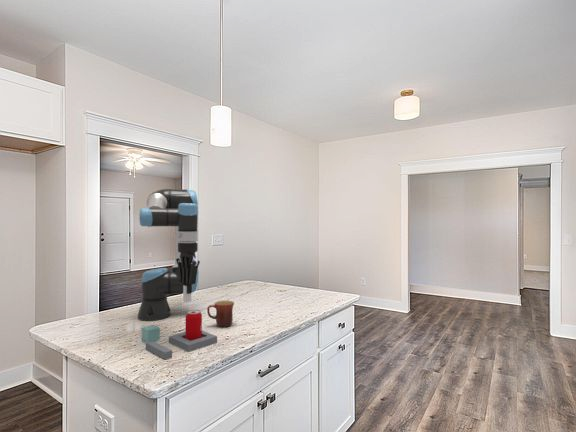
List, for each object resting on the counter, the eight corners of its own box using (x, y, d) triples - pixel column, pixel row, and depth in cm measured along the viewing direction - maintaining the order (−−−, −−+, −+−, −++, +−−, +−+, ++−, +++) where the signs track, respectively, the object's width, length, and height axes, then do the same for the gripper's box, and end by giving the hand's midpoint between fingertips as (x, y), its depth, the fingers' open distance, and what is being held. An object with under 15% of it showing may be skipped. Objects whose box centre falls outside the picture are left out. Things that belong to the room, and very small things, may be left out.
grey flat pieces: (145, 349, 125) (145, 342, 125) (196, 334, 142) (196, 328, 142) (164, 359, 116) (164, 352, 116) (217, 342, 133) (217, 336, 133)
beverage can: (203, 339, 136) (203, 309, 136) (199, 345, 130) (200, 313, 130) (187, 339, 136) (188, 309, 136) (183, 345, 130) (183, 313, 130)
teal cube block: (141, 340, 135) (141, 327, 135) (153, 337, 139) (153, 324, 139) (147, 343, 132) (147, 330, 132) (159, 340, 135) (159, 327, 135)
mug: (232, 321, 159) (233, 300, 160) (235, 327, 151) (235, 304, 151) (206, 323, 156) (206, 301, 156) (207, 329, 148) (207, 306, 148)
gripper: (170, 241, 136) (169, 300, 136) (189, 243, 127) (188, 306, 127) (186, 240, 141) (186, 297, 141) (205, 242, 133) (205, 302, 133)
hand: (187, 301), depth 134 cm, fingers closed
